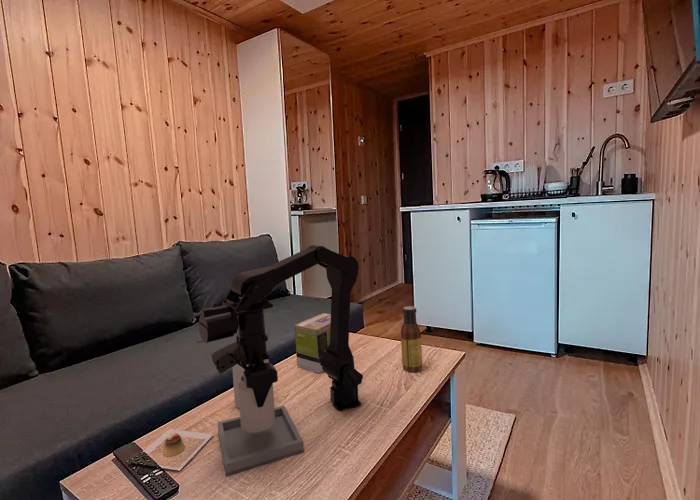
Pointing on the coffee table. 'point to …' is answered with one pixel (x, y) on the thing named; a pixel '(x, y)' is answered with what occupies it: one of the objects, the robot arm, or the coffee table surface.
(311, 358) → the tea box
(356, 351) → the coffee table surface
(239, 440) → the tray
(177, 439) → the dessert
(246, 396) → the can
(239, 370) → the supplement box
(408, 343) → the sauce bottle
